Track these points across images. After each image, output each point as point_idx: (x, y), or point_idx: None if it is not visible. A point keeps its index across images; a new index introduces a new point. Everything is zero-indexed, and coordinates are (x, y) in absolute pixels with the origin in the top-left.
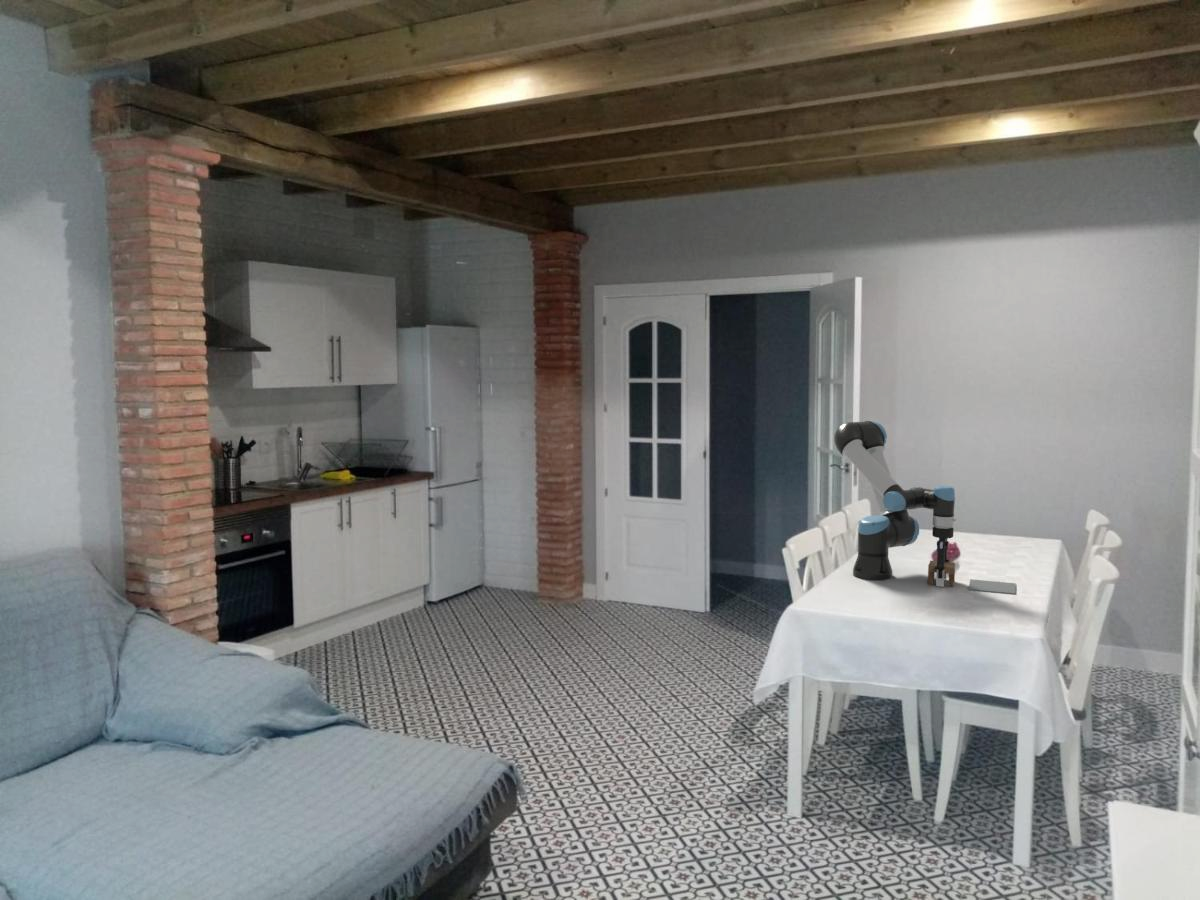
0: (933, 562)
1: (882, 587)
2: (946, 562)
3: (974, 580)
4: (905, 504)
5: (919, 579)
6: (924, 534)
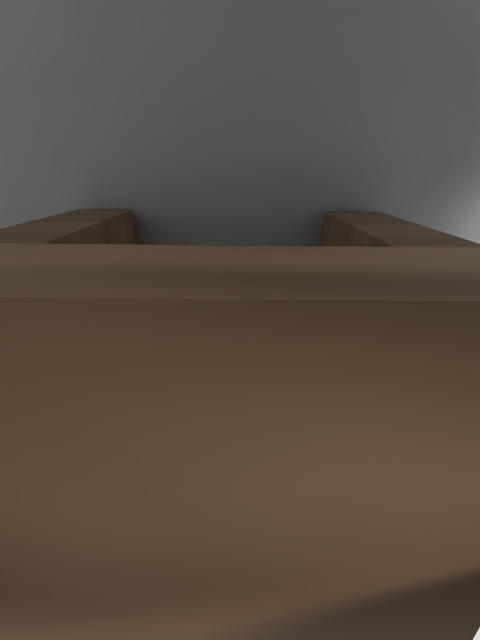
0: (330, 411)
1: None
2: (414, 625)
3: None
4: None
5: (370, 60)
6: None
